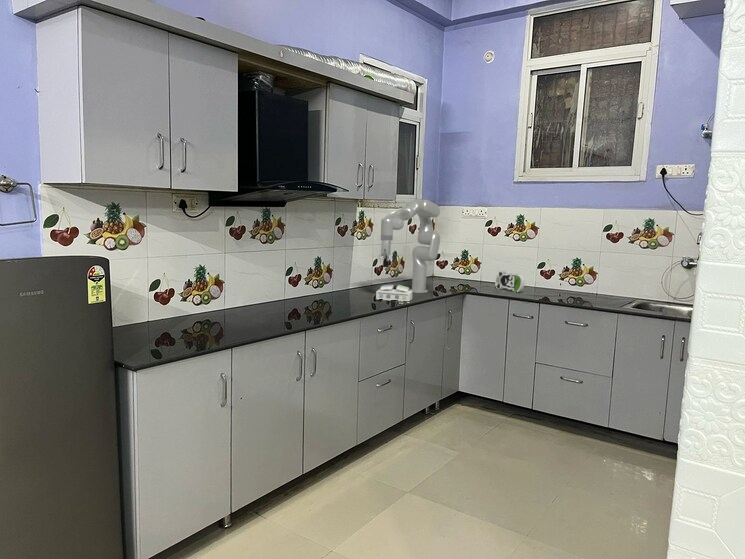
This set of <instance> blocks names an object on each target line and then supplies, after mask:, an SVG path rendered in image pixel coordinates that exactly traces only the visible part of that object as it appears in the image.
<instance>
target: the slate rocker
mask: <svg viewBox="0 0 745 559" xmlns="http://www.w3.org/2000/svg"><path fill="white" fill-rule="evenodd" d="M380 288H381V290H385V289H394V284H384V285H382V286H380Z"/></svg>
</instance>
